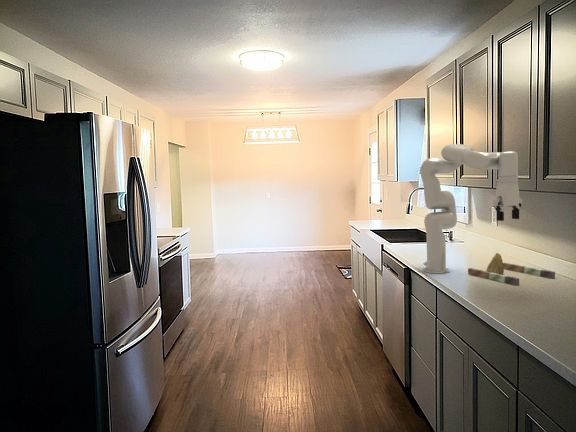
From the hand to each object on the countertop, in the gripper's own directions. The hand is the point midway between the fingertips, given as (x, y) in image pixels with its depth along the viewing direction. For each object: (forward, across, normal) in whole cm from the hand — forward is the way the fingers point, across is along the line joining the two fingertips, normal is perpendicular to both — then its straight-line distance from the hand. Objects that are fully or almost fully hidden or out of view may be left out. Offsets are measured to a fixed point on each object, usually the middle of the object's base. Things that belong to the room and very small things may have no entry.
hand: (507, 219), depth 193 cm
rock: (+31, -21, -24) cm, 45 cm away
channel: (+31, -21, -15) cm, 40 cm away
